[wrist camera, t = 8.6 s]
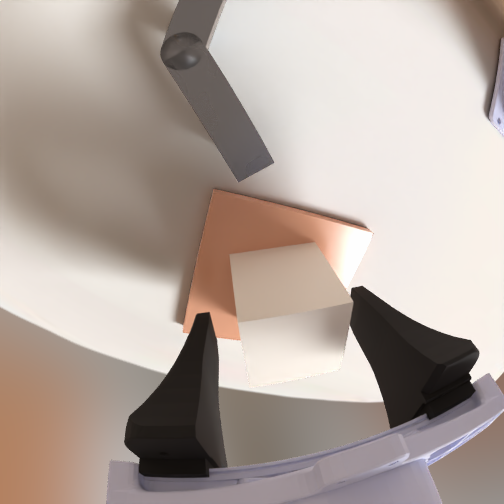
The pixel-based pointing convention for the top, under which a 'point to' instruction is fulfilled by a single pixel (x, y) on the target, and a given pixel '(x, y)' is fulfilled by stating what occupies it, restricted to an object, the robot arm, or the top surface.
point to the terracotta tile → (257, 238)
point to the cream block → (289, 313)
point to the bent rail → (211, 86)
